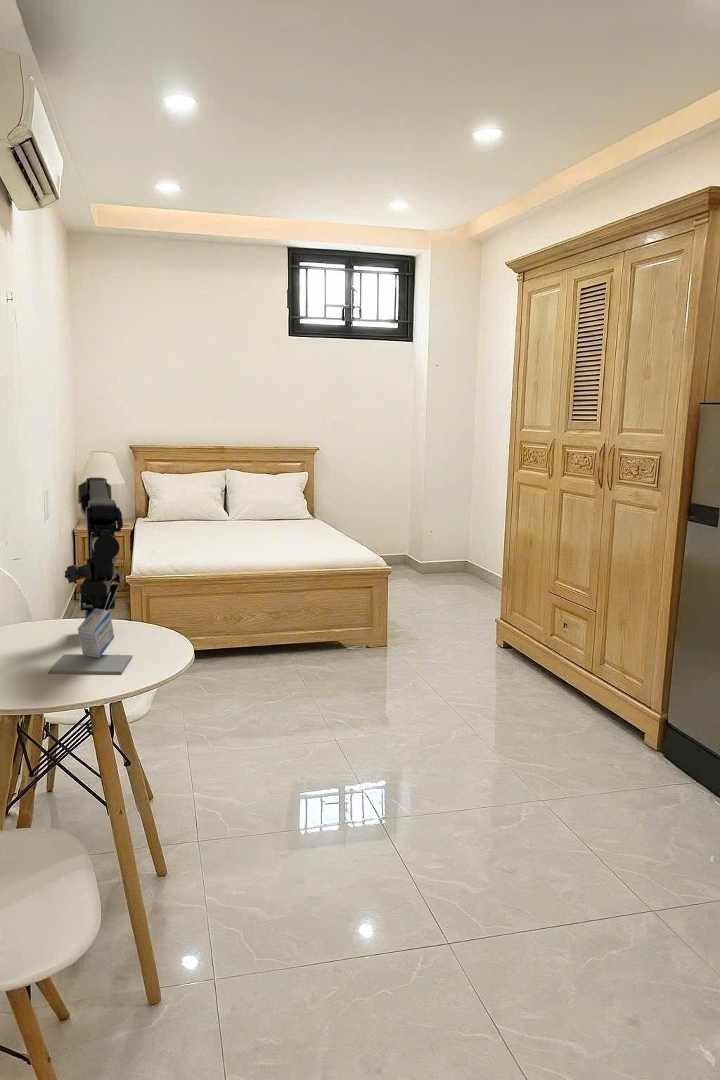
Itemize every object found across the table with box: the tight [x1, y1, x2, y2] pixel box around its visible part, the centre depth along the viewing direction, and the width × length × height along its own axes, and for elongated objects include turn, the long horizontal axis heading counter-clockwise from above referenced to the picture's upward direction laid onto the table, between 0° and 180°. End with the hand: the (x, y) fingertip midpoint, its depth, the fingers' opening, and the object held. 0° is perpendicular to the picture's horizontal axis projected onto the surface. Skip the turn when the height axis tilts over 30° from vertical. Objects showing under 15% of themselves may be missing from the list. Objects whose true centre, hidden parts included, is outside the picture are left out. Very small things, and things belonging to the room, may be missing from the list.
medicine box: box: [77, 608, 115, 658], centre depth 187 cm, size 8×4×9 cm, turn 168°
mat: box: [47, 653, 133, 675], centre depth 183 cm, size 13×16×1 cm
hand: (101, 616), depth 193 cm, fingers open, 6 cm apart
